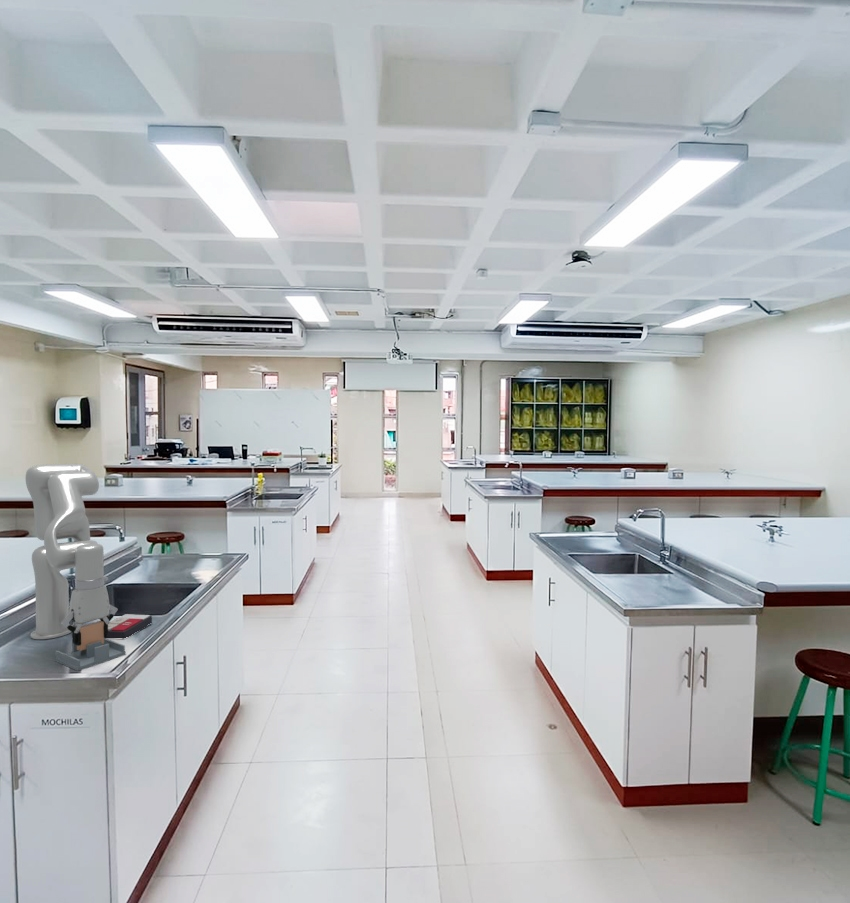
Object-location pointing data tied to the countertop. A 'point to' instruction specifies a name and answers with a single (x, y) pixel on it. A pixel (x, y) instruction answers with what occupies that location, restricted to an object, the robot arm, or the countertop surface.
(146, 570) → the countertop surface
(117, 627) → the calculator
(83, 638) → the tile
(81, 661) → the rack
